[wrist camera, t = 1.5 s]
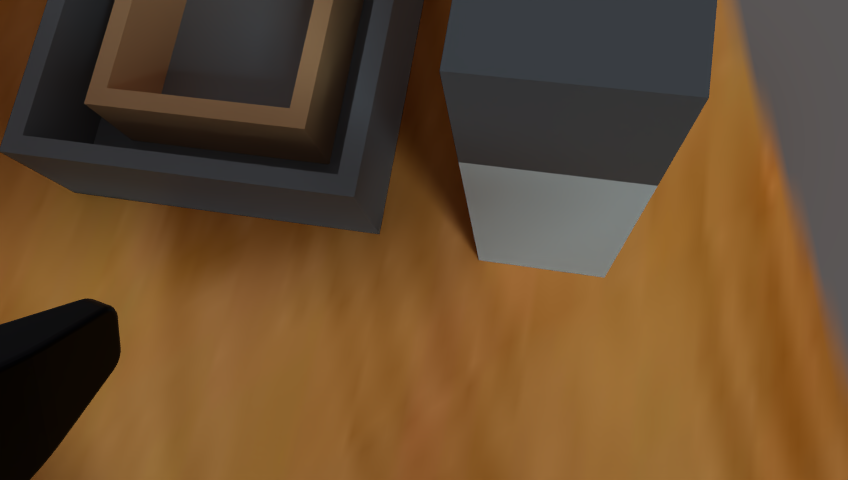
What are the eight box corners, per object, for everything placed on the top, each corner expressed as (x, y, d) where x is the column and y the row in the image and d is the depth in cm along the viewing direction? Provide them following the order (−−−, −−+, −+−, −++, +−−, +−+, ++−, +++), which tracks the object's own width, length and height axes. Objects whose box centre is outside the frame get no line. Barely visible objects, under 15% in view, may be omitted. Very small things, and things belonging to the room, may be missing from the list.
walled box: (379, 234, 24) (354, 197, 21) (74, 192, 26) (-1, 151, 22) (434, -58, 27) (421, -139, 23) (153, -78, 29) (97, -157, 25)
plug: (604, 277, 23) (708, 98, 11) (478, 260, 24) (439, 71, 11) (617, 159, 24) (728, -134, 12) (497, 145, 25) (478, -146, 12)
